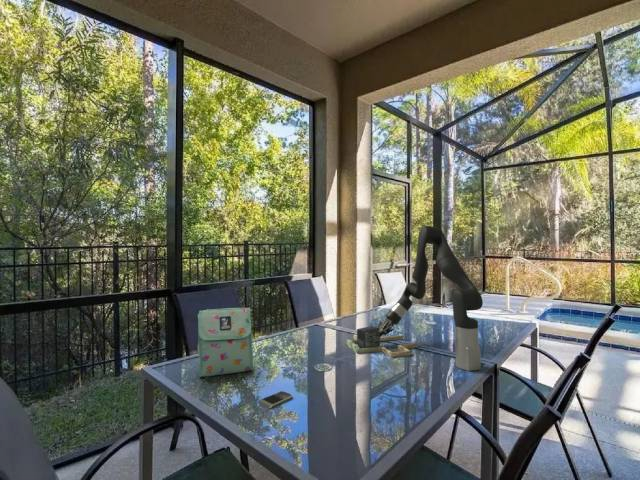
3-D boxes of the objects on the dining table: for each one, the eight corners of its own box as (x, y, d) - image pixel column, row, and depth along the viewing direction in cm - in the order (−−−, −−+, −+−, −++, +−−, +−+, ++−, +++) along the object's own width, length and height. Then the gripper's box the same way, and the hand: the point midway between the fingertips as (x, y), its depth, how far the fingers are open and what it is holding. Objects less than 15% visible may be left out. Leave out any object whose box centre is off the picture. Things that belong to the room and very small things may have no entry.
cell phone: (294, 399, 120) (294, 395, 120) (269, 410, 112) (269, 406, 112) (282, 394, 125) (282, 390, 125) (257, 405, 117) (257, 400, 117)
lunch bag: (196, 380, 138) (195, 313, 138) (199, 366, 154) (198, 306, 154) (254, 373, 144) (253, 309, 145) (251, 361, 160) (250, 303, 160)
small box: (372, 345, 182) (371, 325, 182) (380, 348, 176) (380, 327, 177) (356, 349, 176) (356, 328, 176) (365, 352, 170) (364, 330, 170)
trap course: (429, 353, 167) (429, 347, 167) (365, 360, 158) (365, 353, 158) (393, 334, 203) (393, 329, 203) (339, 339, 194) (339, 334, 194)
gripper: (386, 306, 189) (365, 331, 186) (397, 311, 177) (375, 337, 173) (395, 315, 191) (375, 340, 187) (407, 320, 178) (385, 347, 175)
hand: (375, 338), depth 180 cm, fingers closed
